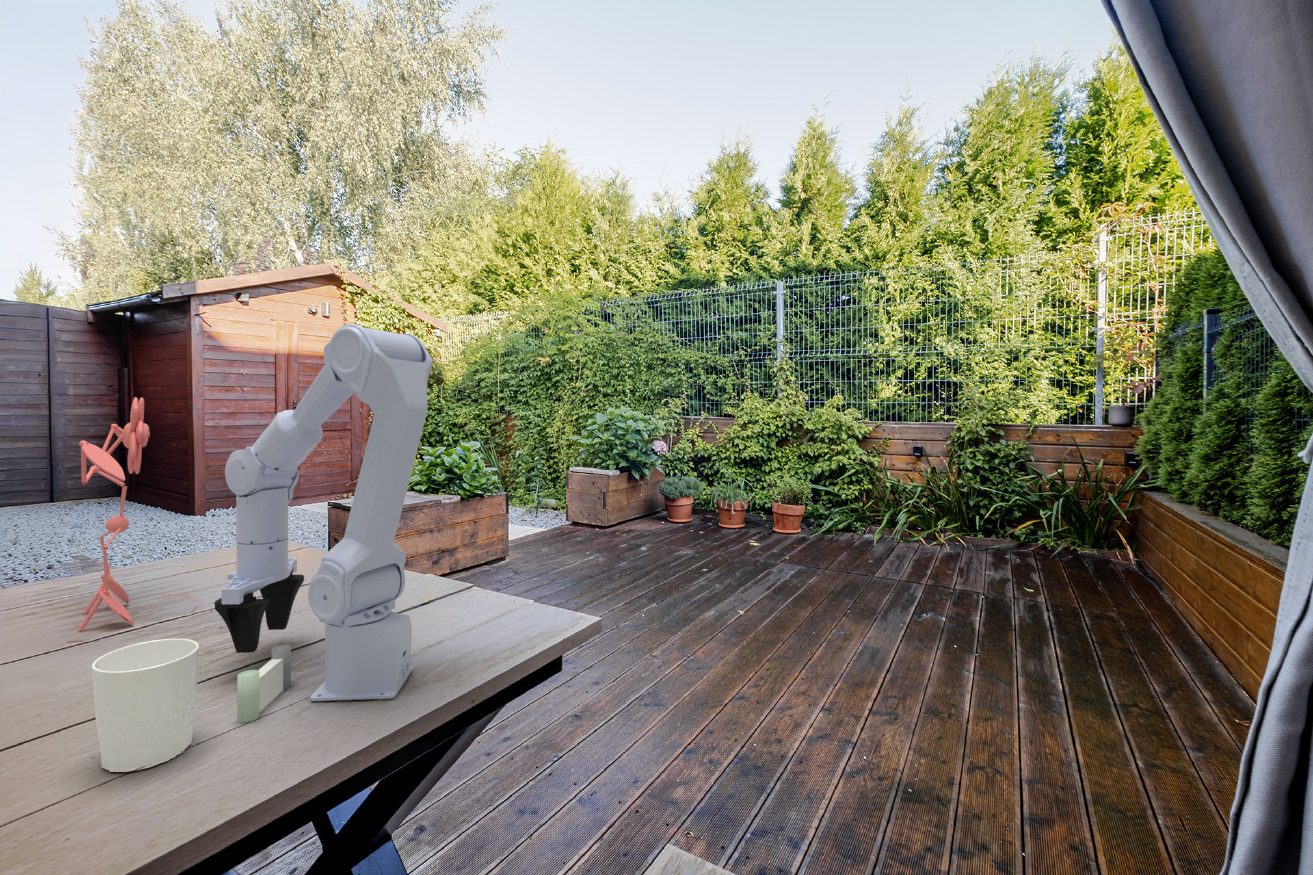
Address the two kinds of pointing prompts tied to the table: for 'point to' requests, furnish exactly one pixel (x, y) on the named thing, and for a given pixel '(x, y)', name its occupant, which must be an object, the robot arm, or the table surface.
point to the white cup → (145, 701)
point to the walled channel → (263, 684)
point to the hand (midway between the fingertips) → (262, 639)
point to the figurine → (134, 440)
